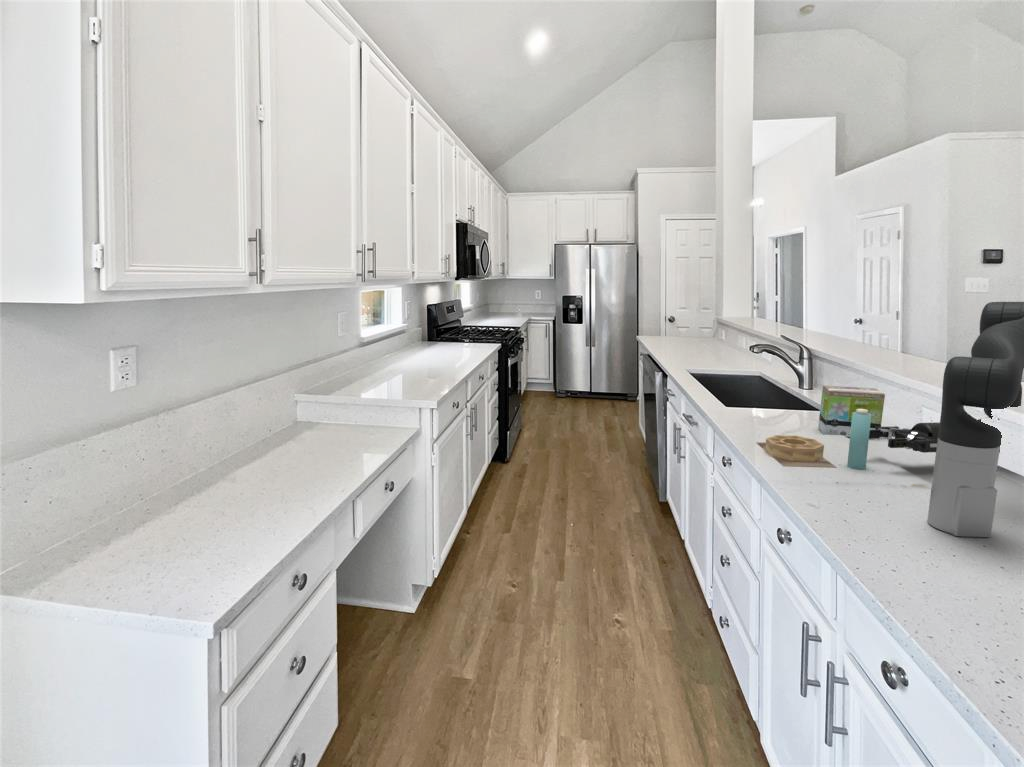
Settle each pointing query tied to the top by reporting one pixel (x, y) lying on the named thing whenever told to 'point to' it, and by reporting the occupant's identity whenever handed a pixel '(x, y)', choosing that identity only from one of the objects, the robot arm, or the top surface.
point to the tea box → (848, 408)
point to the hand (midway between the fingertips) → (876, 438)
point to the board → (787, 463)
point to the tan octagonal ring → (794, 448)
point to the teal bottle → (859, 439)
